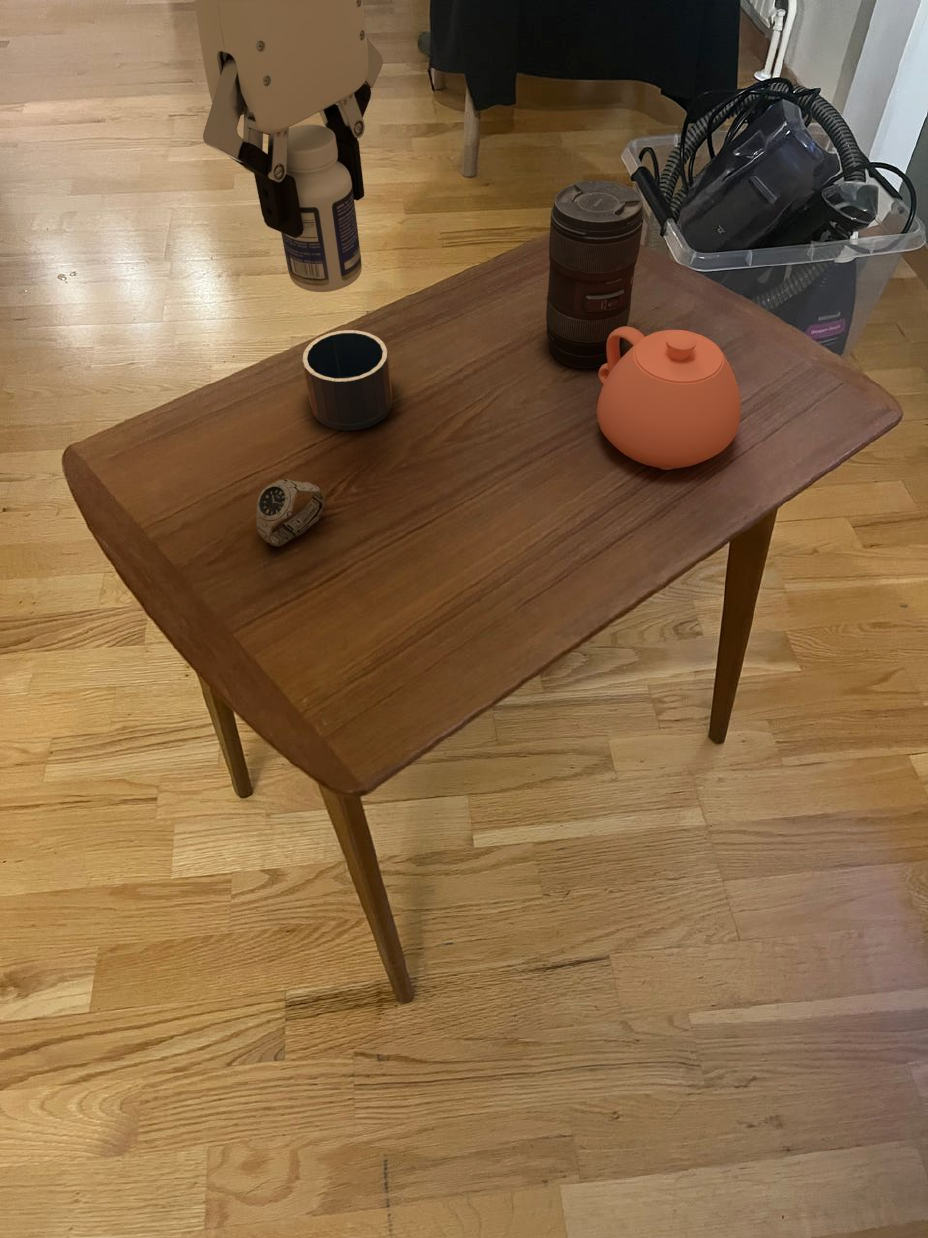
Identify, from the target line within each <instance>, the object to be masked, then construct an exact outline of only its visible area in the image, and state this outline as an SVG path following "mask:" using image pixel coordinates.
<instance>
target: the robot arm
mask: <svg viewBox="0 0 928 1238" xmlns="http://www.w3.org/2000/svg"><path fill="white" fill-rule="evenodd" d="M194 5H195V14H196V21H197V22H196V23H197V29H198V35H199V42H200V49H201V55H202V60H203V66H204V73H205V77H206V82H207V88H208V92H209V96H210V100H211V107H210V110H209V113H208V116H207V120H206V123H205V126H204V129H203V134H202V140H203V142H204V144H206V145H207V146H209V147H210V148H212V149H214V150H216V151H218V152H219V153H221V154H223V155H226V156H227V157H228V158H230V159H231V160H233V161H234V162H236V163H237V164H239V165H240V166H242V167H243V168H244V170H246V171H247V172H250V173H252V174H253V175H254V176H253V177H254V180H255V181H254V182H255V186H256V191H257V194H258V196H257V197H258V200H259V206H260V210H261V215H262V218H263V221H264V224H265V225H266V226H267V227H268V228H270V229H272V230H275V231H277V232H279V233H281V232H282V233H284V234H286V235H289V236H291V237H293V238H297V237H299V236H301V235H302V234H303V223H302V217H301V211H300V205H299V199H298V193H297V187H296V181H295V179H294V177H292V176H290V175H287V174H286V168H287V151H288V133H289V128H291V127H294V126H296V125H297V124H299V123H301V122H303V121H304V120H307V119H308V118H311V117H312V116H315V115H316V114H318V113H319V115H320V118H321V120H322V123H323V126H324V127H327V128H329V129H330V130H332V131H333V132H334V134H335V137H336V144H337V150H338V158H337V161H338V162H340V163H342V164H343V165H344V166H345V167H346V168H347V170H348V171H349V174H350V176H351V182H352V188H353V196H354V201H360V200H362V199H363V198H364V197H365V186H364V178H363V168H362V159H361V158H362V157H361V150H360V140H358V139H360V138H362V137H363V135H364V132H365V130H366V129H365V128H366V125H365V120H364V116H365V112H366V111H367V108H368V105H369V103H370V101H371V99H372V98H371V97H372V89H373V88H374V86H375V84H376V81H377V78H378V77H379V74H380V72H381V70H382V67H383V64H384V59H383V56H382V55H381V53H380V52H379V50H377V48H376V47H375V46H374V44H373V43H372V42H371V41H370V39H368V36H367V27H366V18H365V10H364V4H363V0H194ZM241 116H243V130H242V131H243V132H242V134H243V135H242V137H241V136H240V135H239V133H238V126H239V123H240V119H241ZM264 135H267V136H268V139H267V152H266V151H264V150H263V147H264Z"/></svg>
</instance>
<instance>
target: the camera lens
mask: <svg viewBox="0 0 928 1238" xmlns="http://www.w3.org/2000/svg"><path fill="white" fill-rule="evenodd" d="M643 203H644V202H643V198H642V196H641V195H640V193H639V192H638V191H636V190H635V189H634V188H631V187H630V186H627V185H625V184H623V183H619V182H614V181H611V180H586V181H585V180H584V181H579V182H575V183H573V184H570V185H567V186H565V187H563V188H562V189H561V190H559V191H558V192H557V193H556V195H555V197H554V201H553V206H552V207H551V210H550V223H549V224H550V225H549V240H548V260H549V272H548V284H547V285H548V287H547V294H546V307H545V308H546V310H545V322H546V336H547V339H548V340H549V350H550V352H551V354H552V355H553V357H554V358H555V359H556V360H557V361H558V362H560V363H562V364H564V365H566V366H568V367H573V368H576V369H577V368H578V369H594V368H598V367H601V366H602V365H603V364H606V363H608V361H607V350H606V347H607V340H608V337H609V335H610V334H611V333H612V332H613V331H614V330H615V329H617V328H620V327H624V326H628V323H629V319H630V314H631V305H632V293H633V286H634V285H633V284H634V278H635V270H636V269H635V268H636V265H637V261H638V258H639V254H640V248H641V240H642V234H643V225H644V221H645V220H644V219H645V212H644V209H643ZM624 340H625V339H624V338H621V337H620V341H619V346H620V345H621V344H623V341H624Z"/></svg>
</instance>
